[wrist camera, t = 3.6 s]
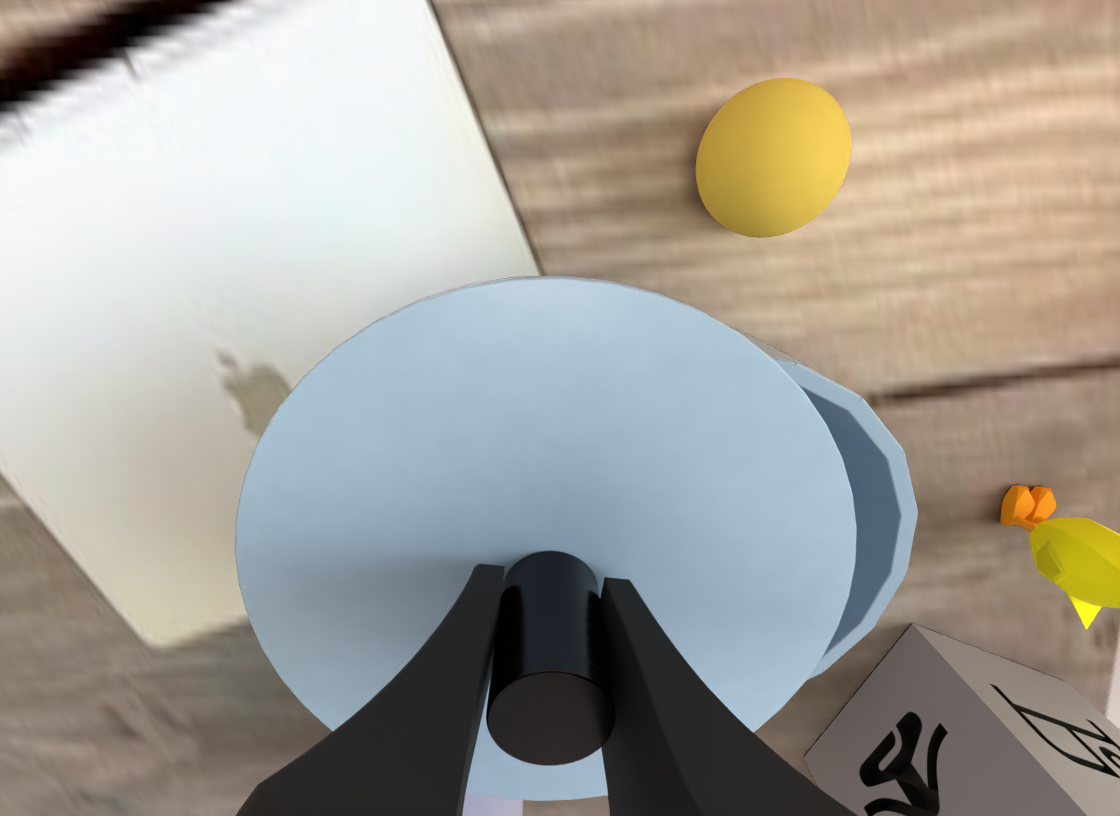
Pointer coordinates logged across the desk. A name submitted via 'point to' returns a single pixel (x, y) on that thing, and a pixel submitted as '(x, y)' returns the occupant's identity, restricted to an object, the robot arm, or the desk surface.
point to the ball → (773, 157)
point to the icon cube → (966, 739)
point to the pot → (862, 500)
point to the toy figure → (1068, 550)
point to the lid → (546, 513)
